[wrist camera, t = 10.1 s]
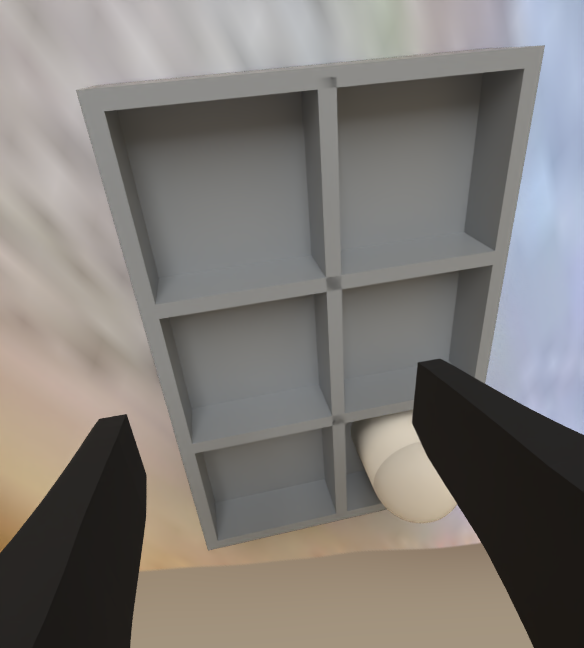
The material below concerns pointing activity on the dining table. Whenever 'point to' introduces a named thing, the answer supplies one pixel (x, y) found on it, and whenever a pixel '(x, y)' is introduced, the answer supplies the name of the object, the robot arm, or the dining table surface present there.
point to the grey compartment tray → (310, 258)
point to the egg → (401, 468)
